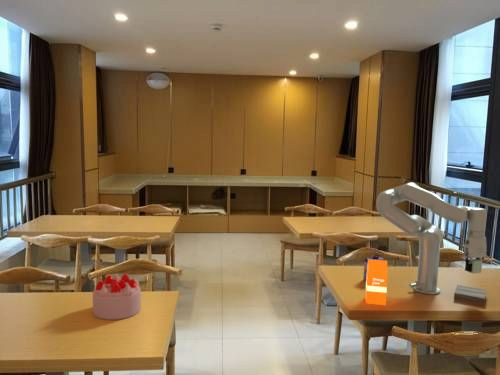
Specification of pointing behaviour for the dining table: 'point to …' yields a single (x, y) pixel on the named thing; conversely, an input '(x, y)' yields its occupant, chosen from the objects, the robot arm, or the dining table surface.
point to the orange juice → (376, 282)
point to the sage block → (475, 265)
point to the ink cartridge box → (367, 264)
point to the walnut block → (470, 295)
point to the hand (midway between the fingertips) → (473, 270)
